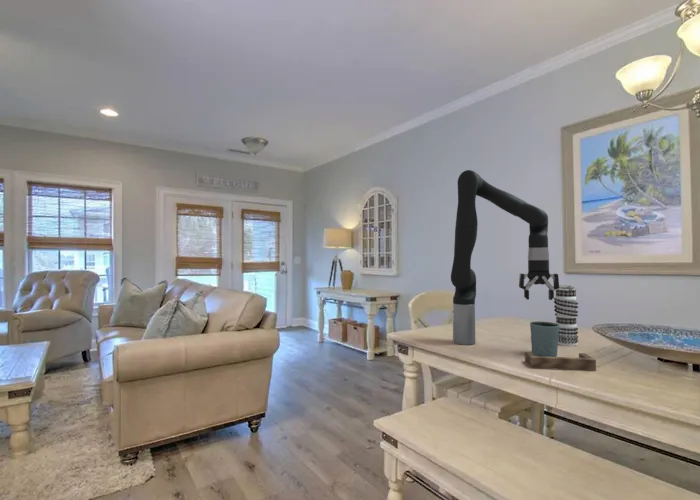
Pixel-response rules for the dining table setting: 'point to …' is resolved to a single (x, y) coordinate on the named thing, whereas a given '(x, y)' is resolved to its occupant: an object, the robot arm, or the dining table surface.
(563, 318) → the decorative candle
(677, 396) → the dining table surface
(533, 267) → the robot arm
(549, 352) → the teal cup
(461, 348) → the dining table surface
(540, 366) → the walnut rail
